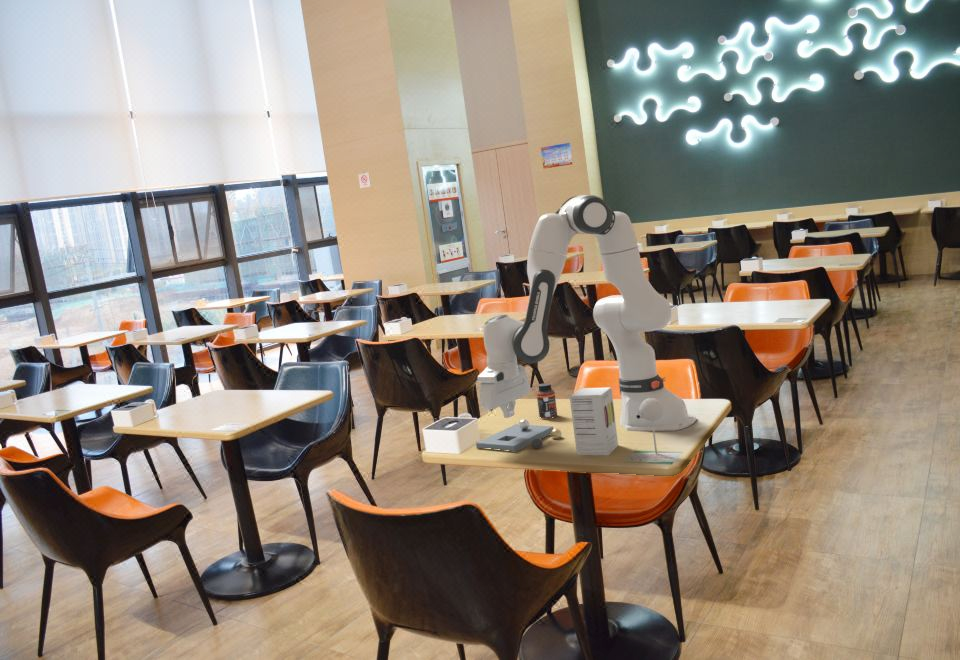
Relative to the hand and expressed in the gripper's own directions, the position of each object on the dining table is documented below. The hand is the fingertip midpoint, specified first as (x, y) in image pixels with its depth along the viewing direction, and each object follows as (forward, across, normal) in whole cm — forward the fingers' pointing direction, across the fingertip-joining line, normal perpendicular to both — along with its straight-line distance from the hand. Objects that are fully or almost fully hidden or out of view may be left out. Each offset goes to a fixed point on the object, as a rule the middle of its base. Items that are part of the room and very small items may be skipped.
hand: (509, 416), depth 235 cm
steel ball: (+4, -6, 0) cm, 8 cm away
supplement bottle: (+9, -28, -6) cm, 30 cm away
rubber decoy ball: (+7, +3, +11) cm, 13 cm away
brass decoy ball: (+7, -7, +11) cm, 15 cm away
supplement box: (+9, 0, +29) cm, 30 cm away
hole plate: (+8, -2, 0) cm, 9 cm away
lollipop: (+9, -1, +46) cm, 47 cm away
